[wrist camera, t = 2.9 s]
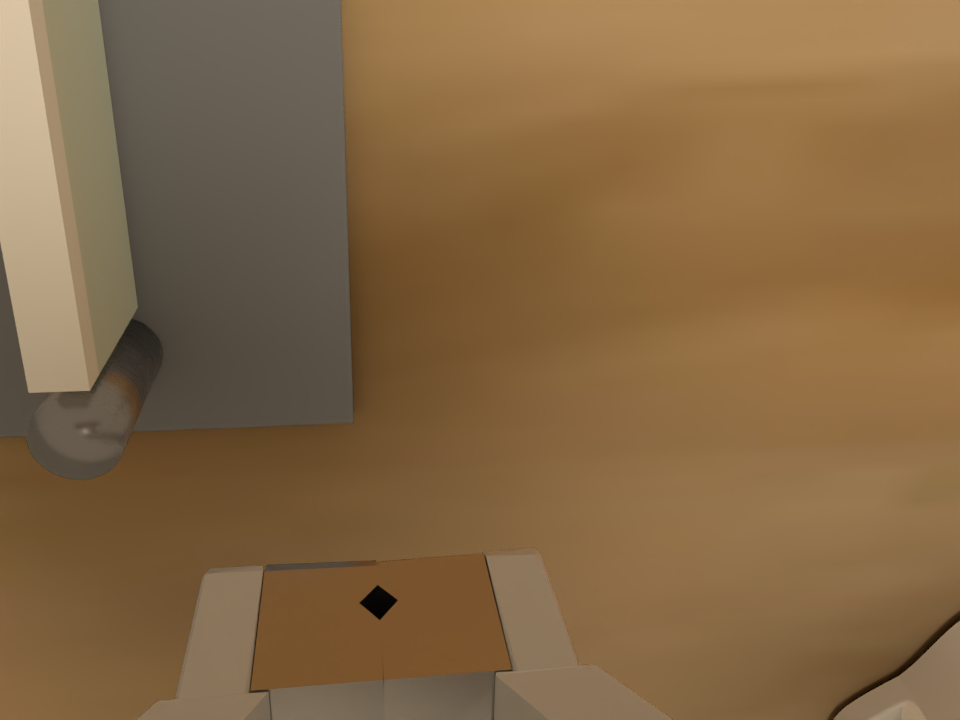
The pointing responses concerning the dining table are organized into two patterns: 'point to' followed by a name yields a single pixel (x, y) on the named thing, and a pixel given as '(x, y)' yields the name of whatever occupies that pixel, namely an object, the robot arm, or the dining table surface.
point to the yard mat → (227, 212)
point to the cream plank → (61, 194)
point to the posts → (97, 411)
